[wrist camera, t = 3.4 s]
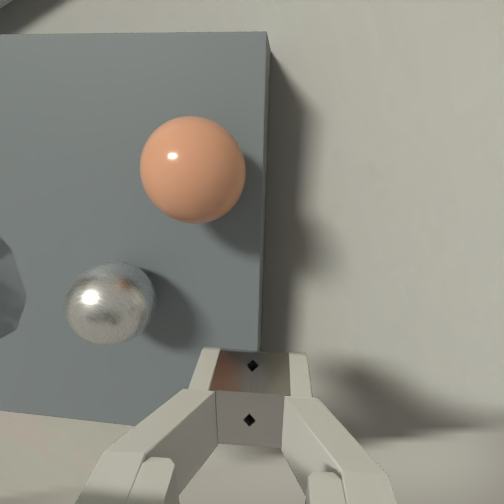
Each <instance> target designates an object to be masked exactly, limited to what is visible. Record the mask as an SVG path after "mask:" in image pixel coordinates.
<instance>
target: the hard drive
mask: <svg viewBox="0 0 504 504" xmlns="http://www.w3.org/2000/svg"><path fill="white" fill-rule="evenodd" d="M11 1H12V0H0V9H1V8H2V7H4V6H5V5H6V4H8V3H9V2H11Z"/></svg>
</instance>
